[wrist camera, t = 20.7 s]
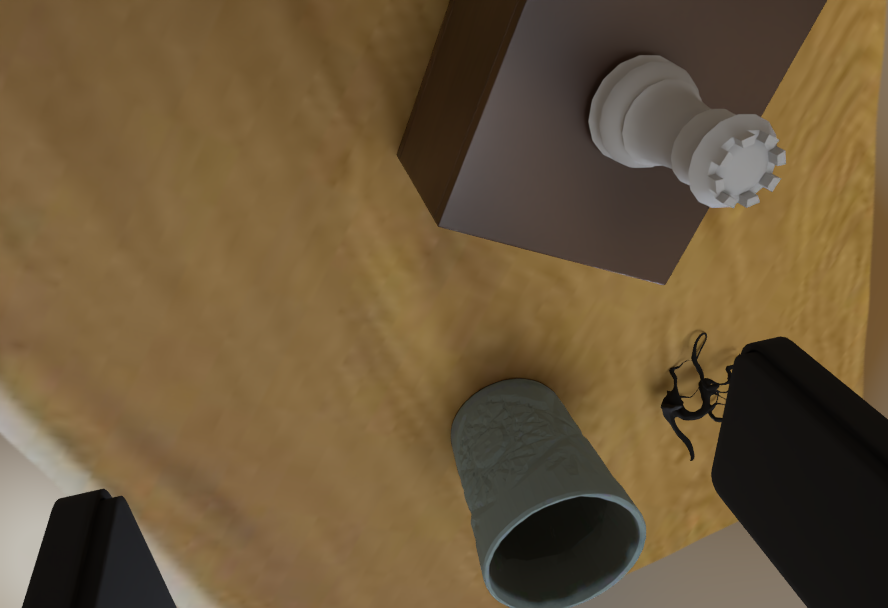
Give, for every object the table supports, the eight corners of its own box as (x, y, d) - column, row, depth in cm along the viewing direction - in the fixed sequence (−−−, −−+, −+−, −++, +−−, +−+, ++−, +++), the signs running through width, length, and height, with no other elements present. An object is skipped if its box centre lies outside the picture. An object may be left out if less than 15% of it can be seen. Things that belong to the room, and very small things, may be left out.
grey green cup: (559, 464, 53) (632, 595, 43) (434, 486, 51) (480, 629, 41) (575, 359, 48) (661, 481, 38) (436, 378, 46) (489, 513, 36)
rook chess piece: (634, 28, 27) (763, 72, 20) (701, 92, 29) (837, 152, 22) (562, 122, 28) (661, 193, 21) (631, 177, 30) (740, 257, 23)
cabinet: (498, -141, 31) (586, -154, 23) (705, -36, 36) (836, -16, 28) (396, 155, 37) (437, 226, 29) (585, 211, 42) (665, 286, 34)
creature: (715, 309, 50) (633, 369, 49) (775, 341, 46) (687, 408, 44) (729, 381, 55) (654, 437, 53) (785, 416, 50) (705, 478, 49)
